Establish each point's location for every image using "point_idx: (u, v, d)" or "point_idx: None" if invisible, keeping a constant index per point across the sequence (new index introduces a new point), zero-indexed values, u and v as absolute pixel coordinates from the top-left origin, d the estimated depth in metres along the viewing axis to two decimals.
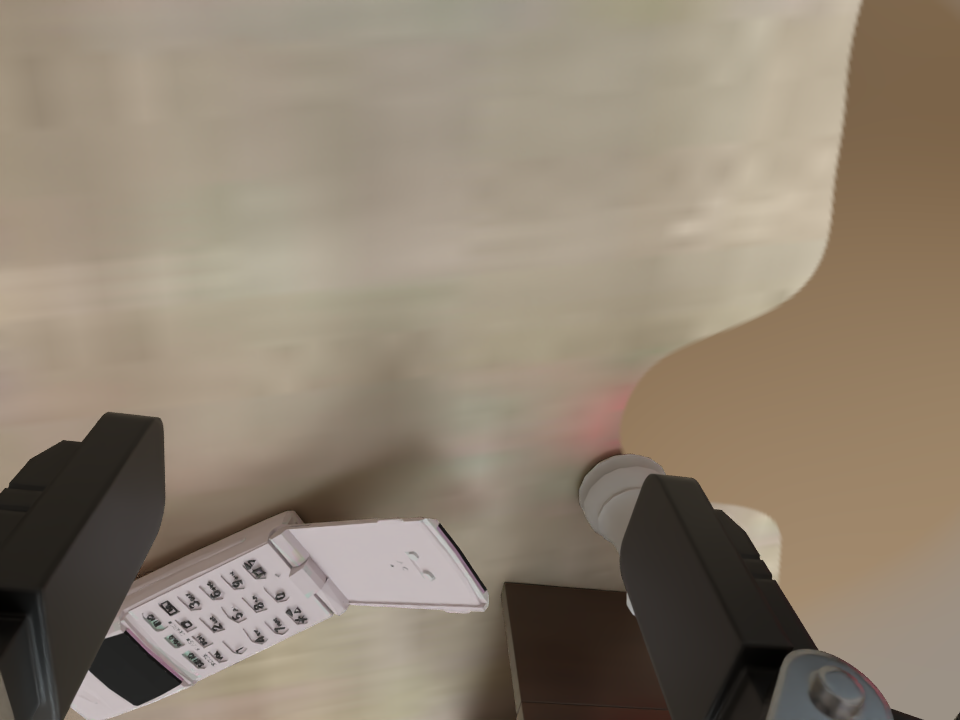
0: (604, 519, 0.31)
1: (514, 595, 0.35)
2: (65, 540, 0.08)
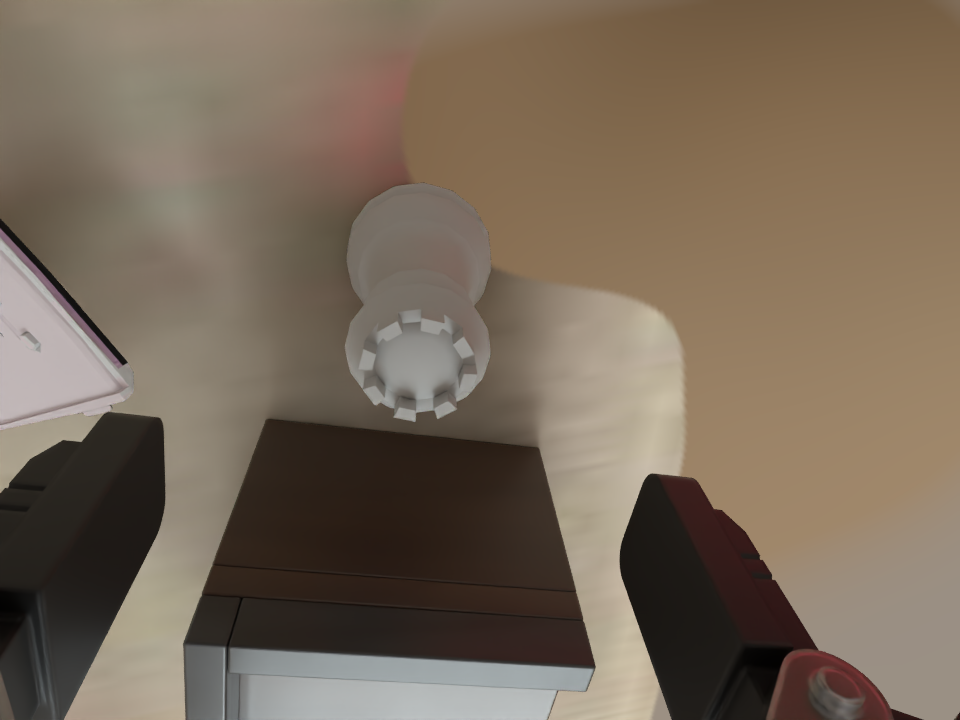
0: (364, 273, 0.19)
1: (274, 434, 0.23)
2: (65, 540, 0.08)
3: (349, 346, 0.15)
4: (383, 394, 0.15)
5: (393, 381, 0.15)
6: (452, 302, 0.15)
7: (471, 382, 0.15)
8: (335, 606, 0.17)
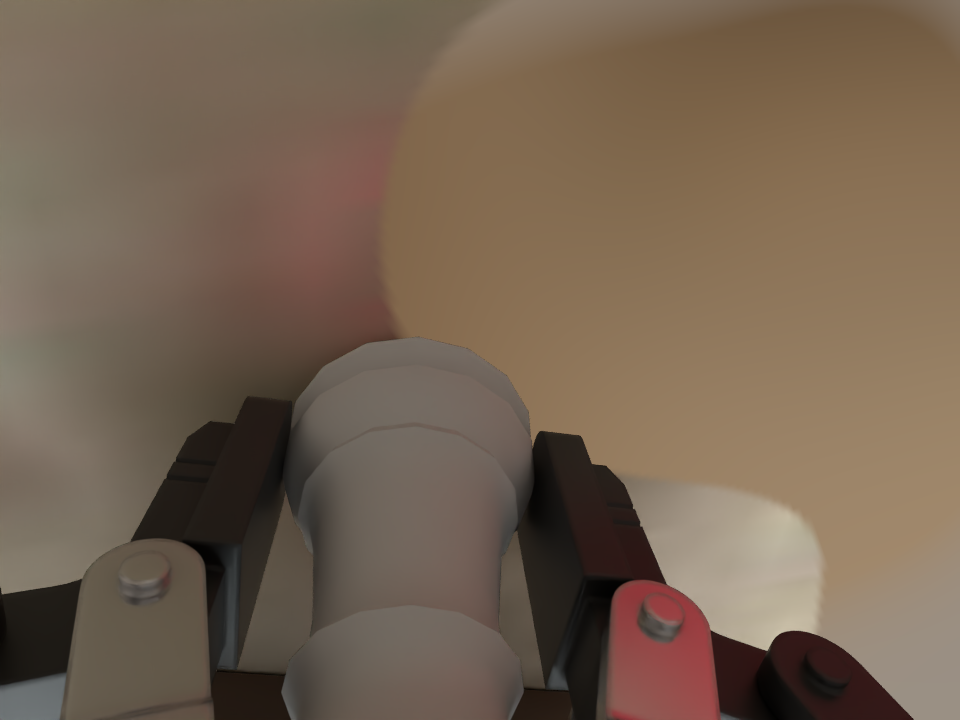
0: (309, 520, 0.10)
1: None
2: (248, 504, 0.09)
3: None
4: None
5: None
6: None
7: None
8: None
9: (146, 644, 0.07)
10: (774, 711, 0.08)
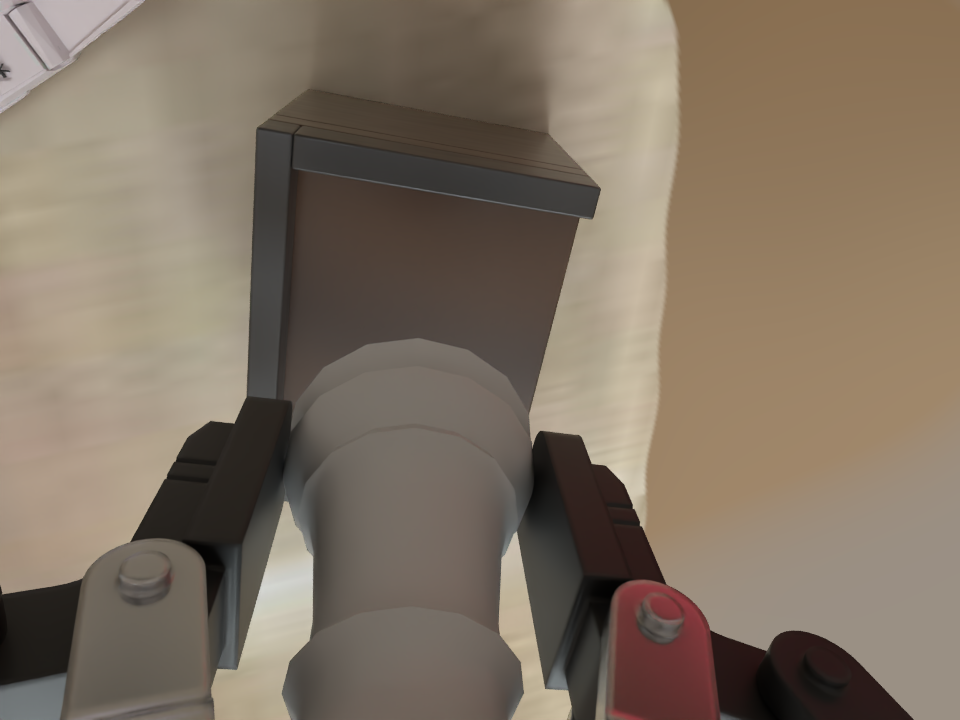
0: (309, 521, 0.10)
1: (316, 93, 0.26)
2: (248, 504, 0.09)
3: None
4: None
5: None
6: None
7: None
8: (379, 143, 0.20)
9: (146, 644, 0.07)
10: (775, 712, 0.08)
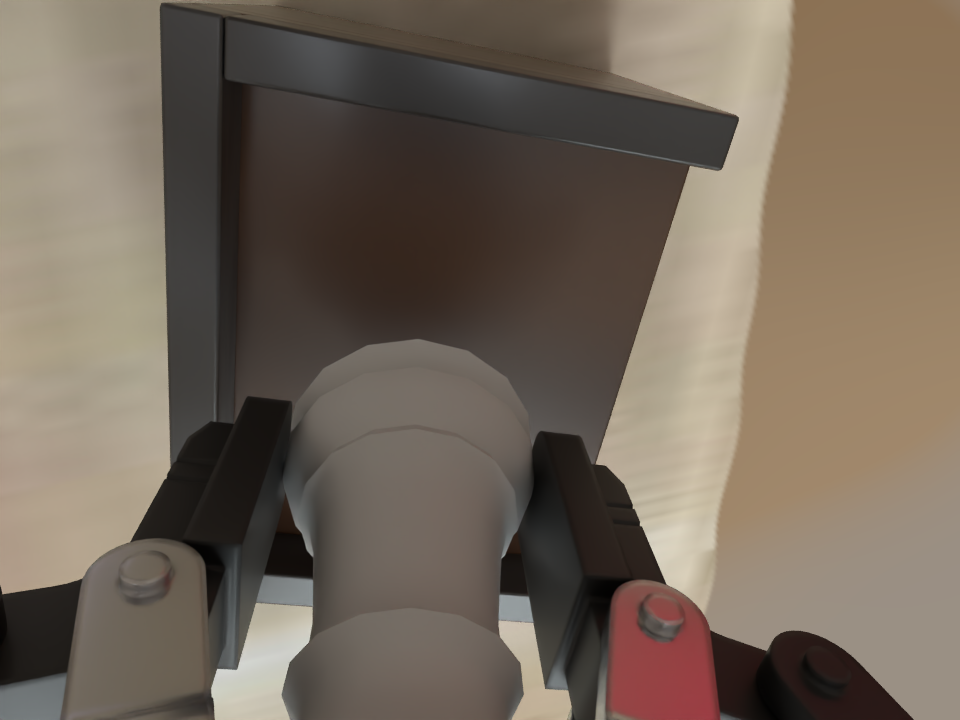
0: (310, 522, 0.10)
1: (285, 8, 0.18)
2: (248, 504, 0.09)
3: None
4: None
5: None
6: None
7: None
8: None
9: (146, 644, 0.07)
10: (774, 711, 0.08)
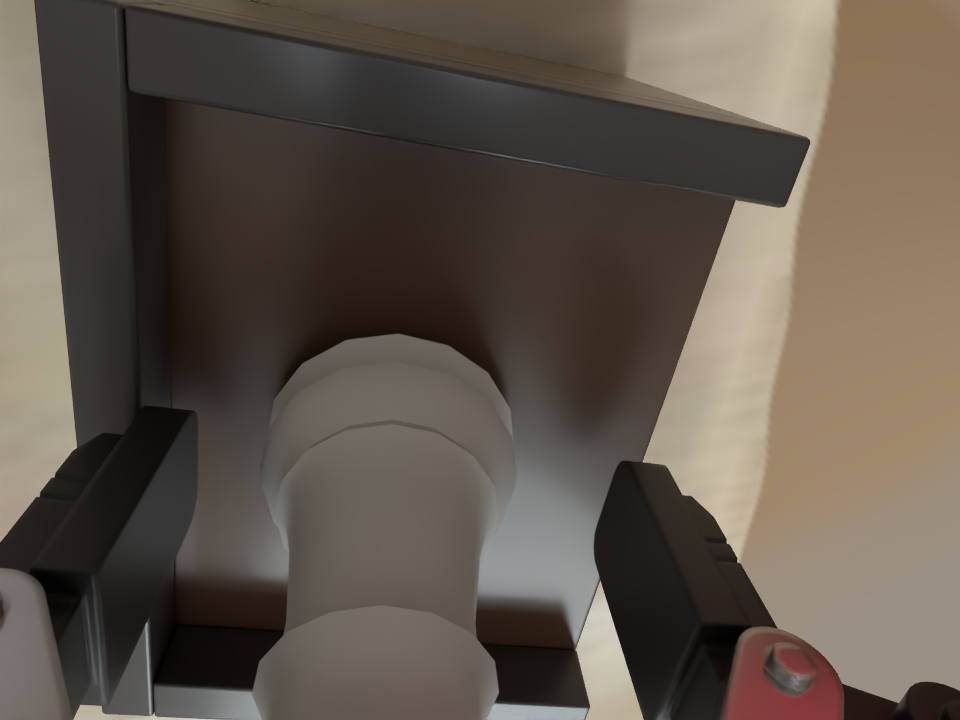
0: (286, 519, 0.10)
1: (242, 0, 0.15)
2: (116, 526, 0.08)
3: None
4: None
5: None
6: None
7: None
8: None
9: None
10: None
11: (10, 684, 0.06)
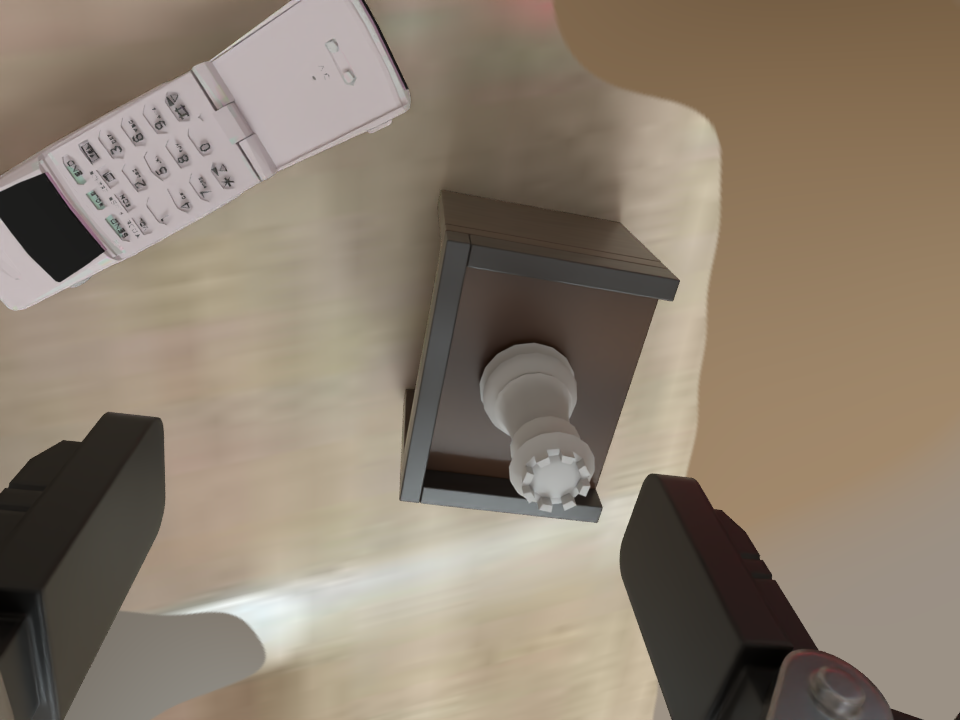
0: (500, 406, 0.29)
1: (449, 194, 0.35)
2: (65, 540, 0.08)
3: (512, 466, 0.25)
4: (534, 496, 0.25)
5: (539, 488, 0.25)
6: (576, 443, 0.25)
7: (586, 490, 0.25)
8: (522, 246, 0.29)
9: None
10: None
11: None
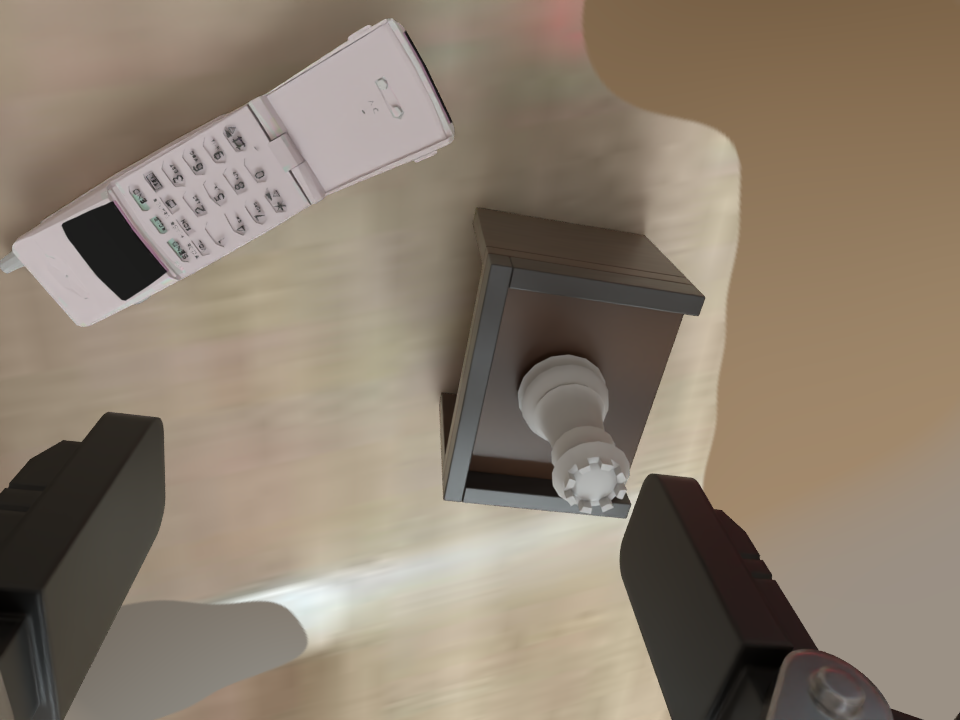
0: (538, 414, 0.32)
1: (484, 212, 0.37)
2: (65, 541, 0.08)
3: (555, 473, 0.28)
4: (575, 500, 0.27)
5: (580, 492, 0.27)
6: (613, 451, 0.27)
7: (623, 494, 0.27)
8: (558, 266, 0.31)
9: None
10: None
11: None
